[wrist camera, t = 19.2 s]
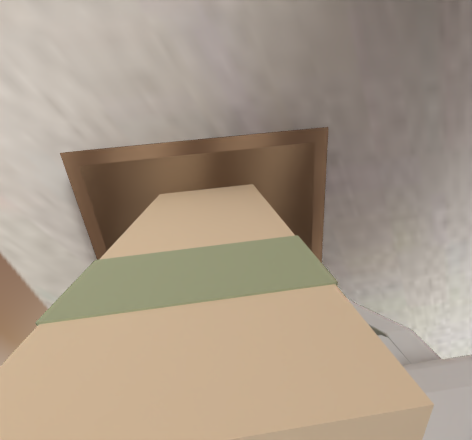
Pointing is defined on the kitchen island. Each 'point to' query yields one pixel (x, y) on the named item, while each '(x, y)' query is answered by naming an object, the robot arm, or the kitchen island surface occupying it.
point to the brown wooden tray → (202, 179)
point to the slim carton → (207, 340)
